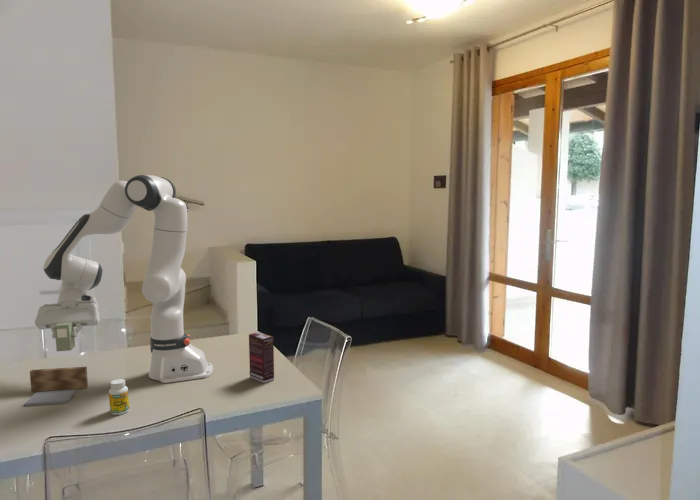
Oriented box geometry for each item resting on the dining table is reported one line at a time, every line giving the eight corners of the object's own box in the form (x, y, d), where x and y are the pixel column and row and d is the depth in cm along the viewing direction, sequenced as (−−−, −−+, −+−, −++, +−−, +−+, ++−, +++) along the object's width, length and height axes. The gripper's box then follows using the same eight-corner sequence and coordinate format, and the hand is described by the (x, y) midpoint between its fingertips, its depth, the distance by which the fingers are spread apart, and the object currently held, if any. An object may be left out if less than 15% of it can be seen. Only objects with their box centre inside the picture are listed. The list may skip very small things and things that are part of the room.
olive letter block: (75, 346, 181) (73, 321, 180) (70, 350, 176) (68, 325, 175) (61, 347, 180) (59, 322, 179) (56, 351, 175) (54, 326, 174)
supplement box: (275, 379, 181) (274, 336, 179) (264, 383, 178) (263, 339, 176) (260, 373, 187) (259, 331, 185) (249, 377, 184) (248, 334, 182)
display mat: (75, 391, 171) (75, 389, 170) (66, 403, 162) (66, 400, 162) (36, 394, 168) (36, 392, 168) (24, 406, 160) (24, 403, 159)
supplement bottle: (127, 406, 160) (125, 376, 158) (131, 412, 155) (129, 382, 154) (108, 410, 157) (106, 380, 155) (111, 417, 152) (109, 386, 151)
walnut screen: (88, 386, 175) (86, 366, 174) (86, 388, 174) (85, 368, 173) (33, 390, 172) (31, 369, 171) (31, 391, 171) (29, 371, 170)
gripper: (36, 300, 181) (27, 334, 173) (98, 296, 185) (93, 330, 176) (43, 309, 186) (34, 343, 178) (103, 305, 190) (98, 339, 181)
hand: (64, 337), depth 177 cm, fingers closed on olive letter block, 4 cm apart
